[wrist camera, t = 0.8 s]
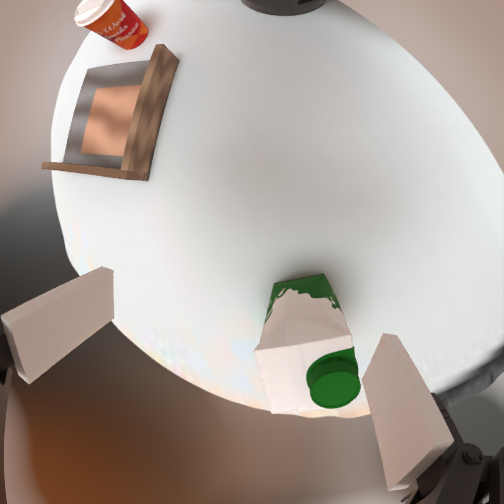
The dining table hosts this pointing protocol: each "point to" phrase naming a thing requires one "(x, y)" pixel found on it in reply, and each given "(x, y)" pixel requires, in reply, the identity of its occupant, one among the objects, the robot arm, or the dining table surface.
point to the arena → (119, 118)
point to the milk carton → (306, 349)
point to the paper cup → (112, 22)
